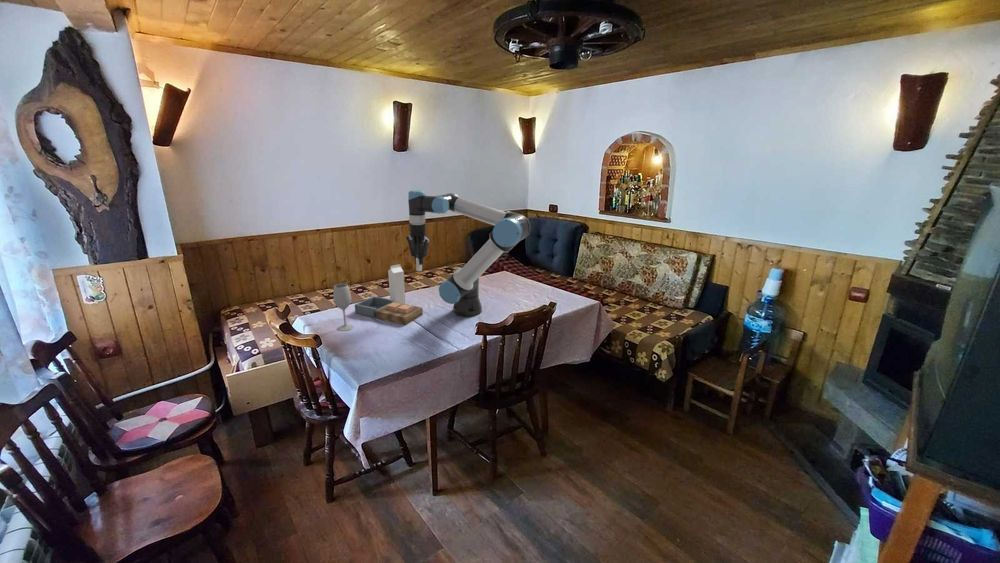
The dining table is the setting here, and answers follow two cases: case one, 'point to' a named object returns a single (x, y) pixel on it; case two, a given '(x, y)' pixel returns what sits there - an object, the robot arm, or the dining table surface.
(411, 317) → the board
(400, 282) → the milk
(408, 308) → the tile
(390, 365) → the dining table surface
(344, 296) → the wineglass
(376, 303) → the tray
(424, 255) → the robot arm
